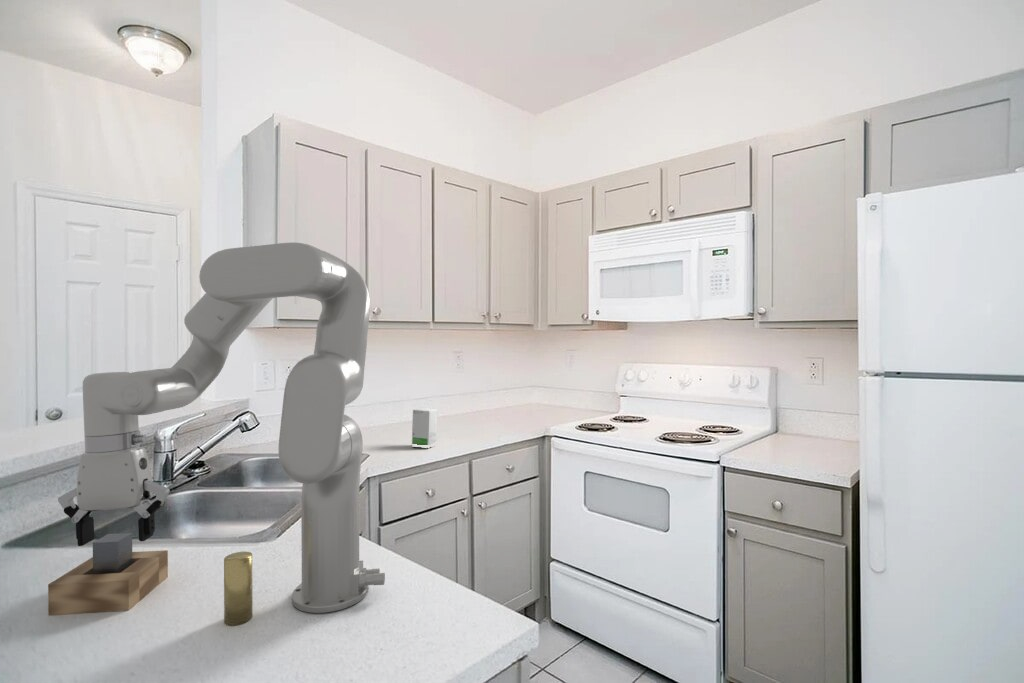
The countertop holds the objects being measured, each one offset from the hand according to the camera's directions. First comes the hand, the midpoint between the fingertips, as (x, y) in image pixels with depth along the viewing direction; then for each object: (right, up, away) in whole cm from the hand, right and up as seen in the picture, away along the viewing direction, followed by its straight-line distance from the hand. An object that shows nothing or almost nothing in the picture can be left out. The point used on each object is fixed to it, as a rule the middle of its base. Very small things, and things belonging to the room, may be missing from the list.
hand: (116, 540), depth 90 cm
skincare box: (+33, -9, +121) cm, 126 cm away
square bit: (-1, -10, 0) cm, 10 cm away
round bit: (+25, -10, -8) cm, 28 cm away
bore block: (-1, -10, 0) cm, 9 cm away
